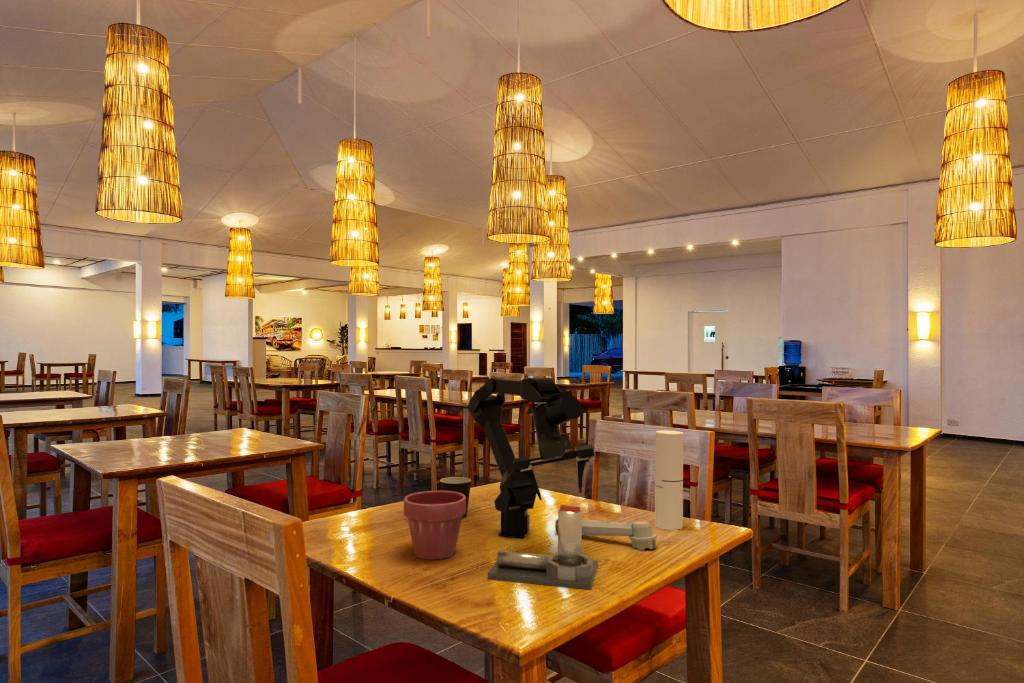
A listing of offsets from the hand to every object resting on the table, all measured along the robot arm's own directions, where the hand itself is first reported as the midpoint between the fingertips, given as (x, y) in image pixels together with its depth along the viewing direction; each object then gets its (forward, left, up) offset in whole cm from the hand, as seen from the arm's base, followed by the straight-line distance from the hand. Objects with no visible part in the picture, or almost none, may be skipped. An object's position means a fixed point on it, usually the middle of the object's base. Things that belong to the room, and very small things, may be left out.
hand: (560, 496), depth 138 cm
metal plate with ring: (-1, -12, -13) cm, 18 cm away
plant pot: (-28, -7, -13) cm, 31 cm away
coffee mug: (-34, +25, -13) cm, 44 cm away
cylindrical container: (+24, +30, -13) cm, 41 cm away
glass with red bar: (+4, -14, -12) cm, 19 cm away
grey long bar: (+9, +13, -14) cm, 21 cm away
